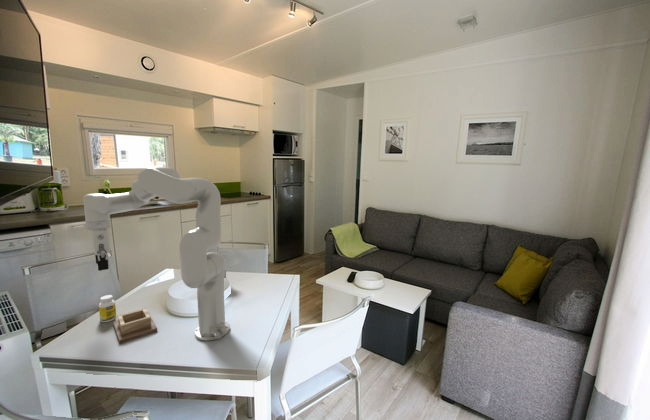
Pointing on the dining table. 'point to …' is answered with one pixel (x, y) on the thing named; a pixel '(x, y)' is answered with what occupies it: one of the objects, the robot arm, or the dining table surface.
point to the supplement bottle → (107, 308)
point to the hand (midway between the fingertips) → (102, 266)
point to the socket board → (134, 325)
